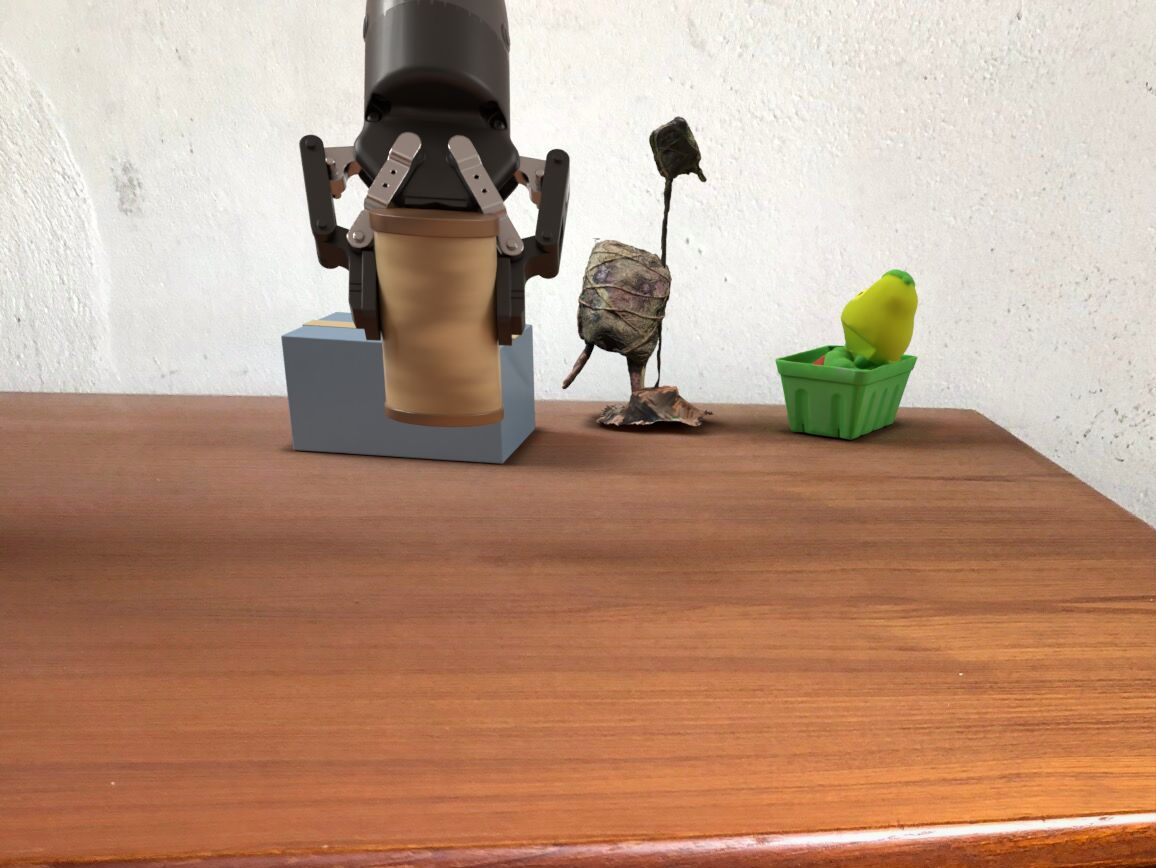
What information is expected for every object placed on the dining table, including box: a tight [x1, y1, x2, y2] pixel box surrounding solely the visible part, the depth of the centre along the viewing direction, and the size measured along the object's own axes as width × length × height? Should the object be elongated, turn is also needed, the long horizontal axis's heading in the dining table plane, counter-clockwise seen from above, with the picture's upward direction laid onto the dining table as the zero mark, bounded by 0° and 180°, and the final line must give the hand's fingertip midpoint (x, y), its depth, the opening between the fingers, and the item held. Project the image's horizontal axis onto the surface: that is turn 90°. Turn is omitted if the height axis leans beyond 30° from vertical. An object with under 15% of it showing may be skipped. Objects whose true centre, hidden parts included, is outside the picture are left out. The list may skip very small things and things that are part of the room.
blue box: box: [280, 311, 536, 465], centre depth 103 cm, size 14×12×7 cm
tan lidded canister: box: [368, 208, 504, 427], centre depth 77 cm, size 6×6×10 cm
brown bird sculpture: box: [561, 115, 715, 427], centre depth 108 cm, size 8×11×20 cm
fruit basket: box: [775, 268, 919, 441], centre depth 113 cm, size 11×9×11 cm
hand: (437, 331), depth 76 cm, fingers closed on tan lidded canister, 6 cm apart
